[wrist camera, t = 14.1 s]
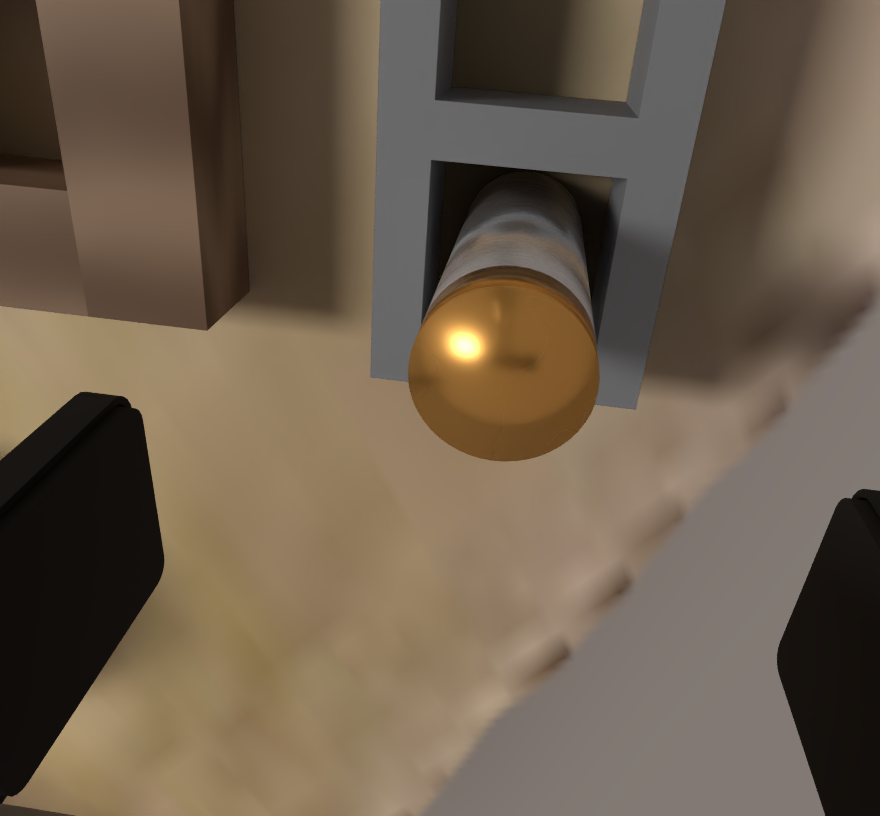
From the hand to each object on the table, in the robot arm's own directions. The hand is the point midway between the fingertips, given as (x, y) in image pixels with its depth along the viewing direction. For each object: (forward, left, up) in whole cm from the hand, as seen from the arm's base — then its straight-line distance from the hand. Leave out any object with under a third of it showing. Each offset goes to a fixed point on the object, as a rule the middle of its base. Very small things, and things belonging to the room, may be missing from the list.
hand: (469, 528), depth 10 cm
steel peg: (+1, 0, -18) cm, 18 cm away
